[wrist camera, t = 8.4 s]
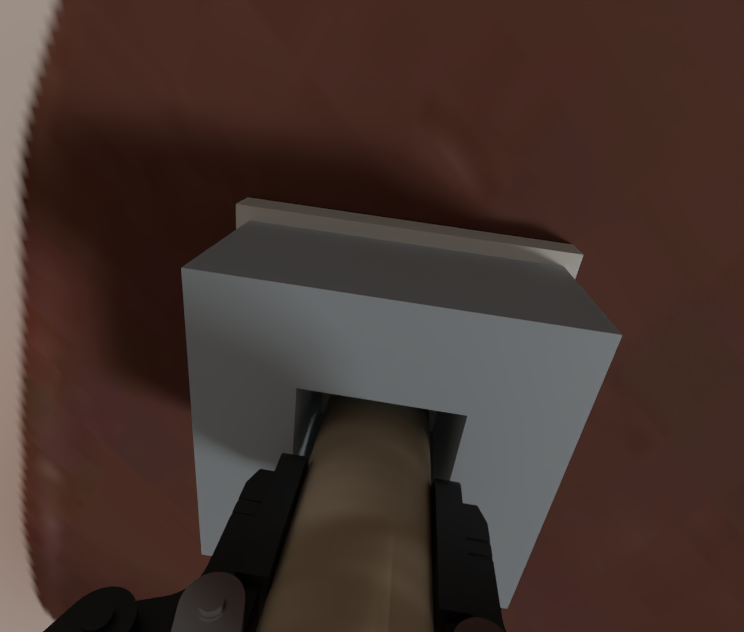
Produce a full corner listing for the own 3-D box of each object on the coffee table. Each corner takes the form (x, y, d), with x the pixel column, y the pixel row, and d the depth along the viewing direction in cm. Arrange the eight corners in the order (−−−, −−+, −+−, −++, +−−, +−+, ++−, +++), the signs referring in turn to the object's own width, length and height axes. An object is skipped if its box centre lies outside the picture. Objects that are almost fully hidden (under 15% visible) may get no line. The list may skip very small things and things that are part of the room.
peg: (437, 375, 15) (476, 1054, 4) (420, 455, 17) (416, 1099, 6) (332, 358, 15) (118, 976, 4) (325, 440, 17) (151, 1041, 6)
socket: (572, 244, 16) (651, 320, 11) (466, 565, 24) (479, 705, 19) (247, 197, 17) (159, 245, 11) (248, 527, 25) (197, 652, 19)
